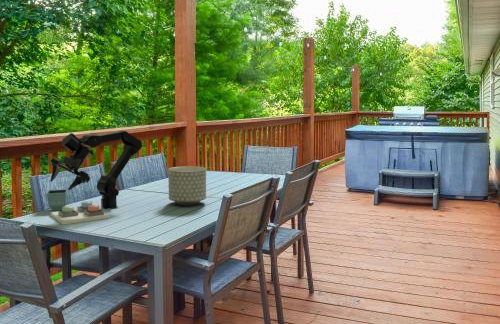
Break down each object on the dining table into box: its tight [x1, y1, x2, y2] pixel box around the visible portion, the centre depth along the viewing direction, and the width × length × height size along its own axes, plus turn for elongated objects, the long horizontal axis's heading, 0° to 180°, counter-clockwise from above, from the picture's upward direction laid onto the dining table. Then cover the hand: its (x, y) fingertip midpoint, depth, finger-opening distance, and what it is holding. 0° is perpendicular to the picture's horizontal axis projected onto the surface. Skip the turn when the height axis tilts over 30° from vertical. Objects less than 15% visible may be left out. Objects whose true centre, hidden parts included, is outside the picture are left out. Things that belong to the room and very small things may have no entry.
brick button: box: [88, 204, 100, 213], centre depth 229 cm, size 5×5×2 cm
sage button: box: [61, 205, 75, 214], centre depth 227 cm, size 5×5×2 cm
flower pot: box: [46, 189, 68, 212], centre depth 245 cm, size 9×9×9 cm
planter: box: [167, 165, 207, 206], centre depth 258 cm, size 19×19×18 cm
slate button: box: [80, 200, 93, 209], centre depth 237 cm, size 5×5×2 cm
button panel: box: [50, 205, 110, 225], centre depth 230 cm, size 20×20×3 cm
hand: (59, 185), depth 228 cm, fingers open, 9 cm apart
